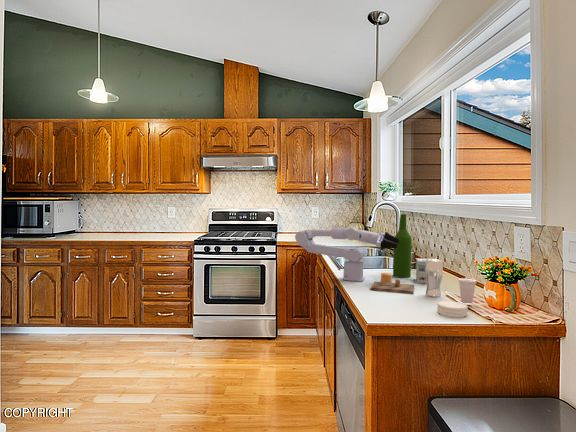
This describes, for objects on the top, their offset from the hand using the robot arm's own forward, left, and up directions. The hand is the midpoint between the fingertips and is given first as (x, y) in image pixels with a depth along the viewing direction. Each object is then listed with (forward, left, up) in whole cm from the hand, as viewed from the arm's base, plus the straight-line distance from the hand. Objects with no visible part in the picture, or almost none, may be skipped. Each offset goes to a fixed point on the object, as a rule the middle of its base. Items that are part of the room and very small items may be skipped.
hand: (398, 243), depth 190 cm
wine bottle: (+1, +19, -19) cm, 27 cm away
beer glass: (+16, -19, -19) cm, 31 cm away
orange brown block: (-5, -2, -19) cm, 20 cm away
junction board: (-1, -13, -19) cm, 23 cm away
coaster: (+22, -45, -20) cm, 54 cm away
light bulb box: (+12, +10, -19) cm, 25 cm away
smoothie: (+28, -30, -19) cm, 45 cm away
